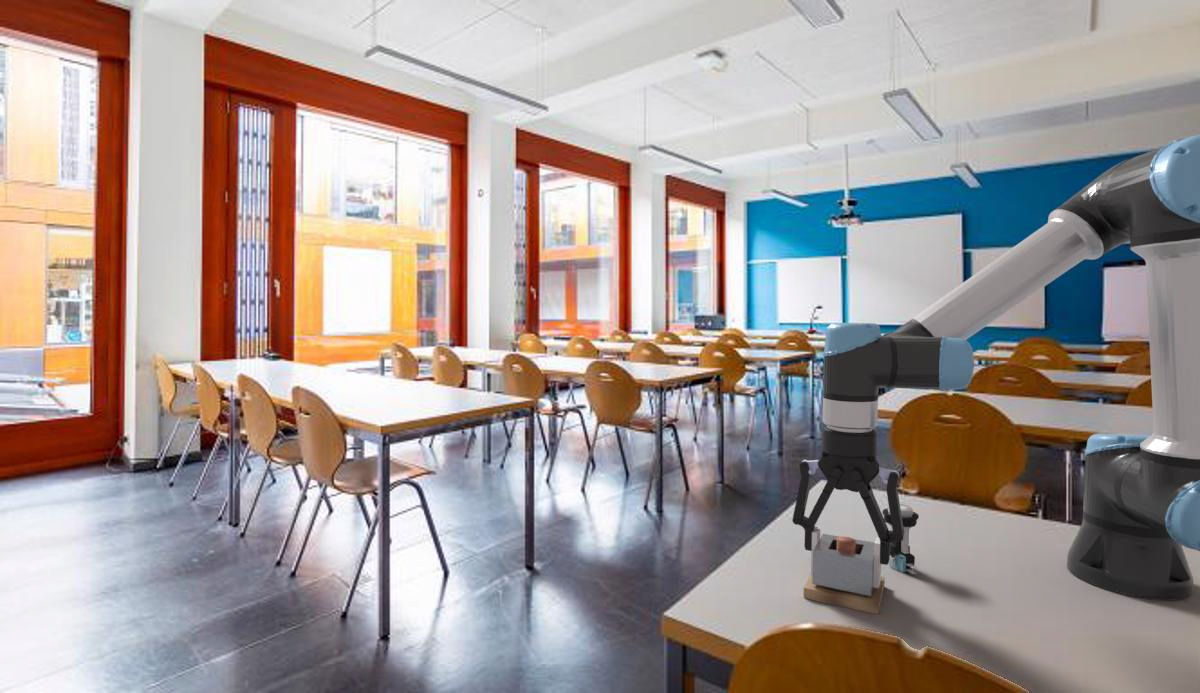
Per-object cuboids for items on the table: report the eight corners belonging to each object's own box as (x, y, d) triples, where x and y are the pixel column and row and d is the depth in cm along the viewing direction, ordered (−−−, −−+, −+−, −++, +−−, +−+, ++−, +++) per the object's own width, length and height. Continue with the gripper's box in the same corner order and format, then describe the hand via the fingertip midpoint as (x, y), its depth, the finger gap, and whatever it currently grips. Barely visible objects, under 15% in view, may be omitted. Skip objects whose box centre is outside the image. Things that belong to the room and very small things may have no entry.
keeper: (884, 586, 95) (886, 535, 95) (877, 614, 86) (879, 557, 86) (816, 572, 100) (817, 523, 100) (803, 597, 91) (804, 544, 91)
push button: (929, 576, 99) (931, 514, 98) (898, 578, 98) (900, 515, 98) (903, 559, 106) (905, 501, 105) (874, 561, 105) (876, 502, 104)
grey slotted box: (877, 575, 95) (878, 543, 94) (871, 596, 88) (872, 561, 87) (822, 564, 99) (822, 533, 98) (812, 583, 92) (813, 550, 91)
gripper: (929, 429, 90) (924, 583, 91) (783, 417, 100) (780, 555, 102) (928, 439, 83) (922, 604, 85) (772, 424, 94) (769, 572, 95)
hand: (845, 577), depth 93 cm, fingers closed on grey slotted box, 8 cm apart
